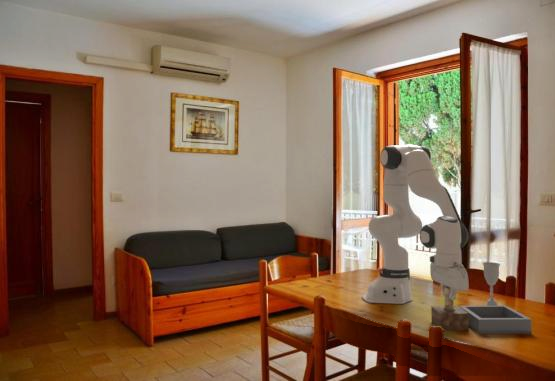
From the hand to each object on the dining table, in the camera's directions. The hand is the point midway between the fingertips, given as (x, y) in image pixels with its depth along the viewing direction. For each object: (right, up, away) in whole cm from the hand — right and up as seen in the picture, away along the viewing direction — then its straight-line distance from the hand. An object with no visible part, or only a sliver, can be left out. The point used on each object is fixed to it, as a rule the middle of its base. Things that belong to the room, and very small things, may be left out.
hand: (449, 297), depth 163 cm
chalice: (+29, -10, +27) cm, 41 cm away
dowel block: (0, -10, 0) cm, 10 cm away
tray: (+16, -10, -1) cm, 19 cm away
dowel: (0, -9, 0) cm, 9 cm away
